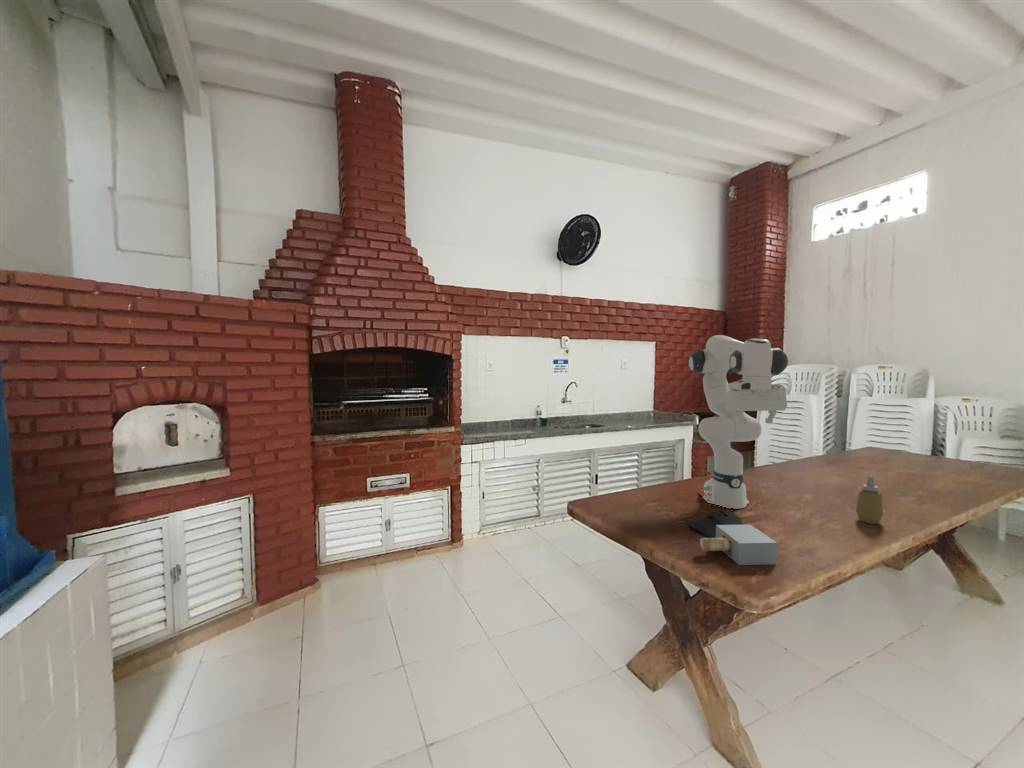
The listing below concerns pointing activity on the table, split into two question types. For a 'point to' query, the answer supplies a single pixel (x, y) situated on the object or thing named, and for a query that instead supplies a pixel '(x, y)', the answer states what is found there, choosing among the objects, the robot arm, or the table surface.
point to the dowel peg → (715, 544)
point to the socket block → (748, 544)
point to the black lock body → (714, 522)
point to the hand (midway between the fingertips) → (755, 423)
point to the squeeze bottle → (869, 503)
